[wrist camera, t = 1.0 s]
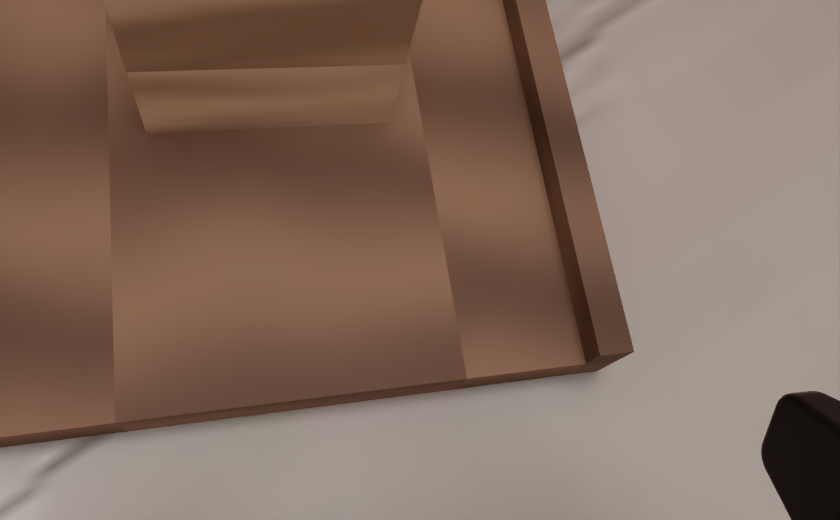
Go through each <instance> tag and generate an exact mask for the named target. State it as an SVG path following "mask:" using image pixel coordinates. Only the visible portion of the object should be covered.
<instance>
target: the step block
mask: <svg viewBox="0 0 840 520" xmlns="http://www.w3.org/2000/svg"><path fill="white" fill-rule="evenodd" d="M103 1H104V4H105V7H106V10H107V13H108V16H109V20H110V23H111V26H112V29H113V32H114V35H115V38H116V41H117V44H118V47H119V51H120V54H121V57H122V60H123V63H124V66H125V69H126V72H127V75H128V78H129V82H130V85H131V88H132V91H133V94H134V97H135V100H136V103H137V106H138V110H139V113H140V116H141V119H142V122H143V125H144V128H145V131H146V134H148V133H170V132H192V131H214V130H236V129H258V128H280V127H302V126H323V125H345V124H367V123H389V122H390V119H391V115H392V111H393V108H394V104H395V100H396V97H397V93H398V89H399V86H400V82H401V78H402V75H403V71H404V67H405V63H406V60H407V56H408V52H409V49H410V45H411V41H412V38H413V34H414V30H415V27H416V23H417V19H418V16H419V12H420V8H421V5H422V1H423V0H103Z"/></svg>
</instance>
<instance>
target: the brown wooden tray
mask: <svg viewBox="0 0 840 520" xmlns="http://www.w3.org/2000/svg"><path fill="white" fill-rule="evenodd" d="M632 352H634V350H633V346H632V342H631V338H630V334H629V330H628V326H627V322H626V318H625V314H624V310H623V306H622V302H621V298H620V294H619V290H618V286H617V282H616V278H615V274H614V270H613V266H612V262H611V258H610V255H609V251H608V247H607V243H606V239H605V235H604V231H603V227H602V223H601V219H600V215H599V211H598V207H597V203H596V199H595V195H594V191H593V187H592V183H591V179H590V175H589V171H588V167H587V163H586V159H585V156H584V152H583V148H582V144H581V140H580V136H579V132H578V128H577V124H576V120H575V116H574V112H573V108H572V104H571V100H570V96H569V92H568V88H567V84H566V80H565V76H564V72H563V68H562V64H561V61H560V57H559V53H558V49H557V45H556V41H555V37H554V33H553V29H552V25H551V21H550V17H549V13H548V9H547V5H546V1H545V0H423V1H422V5H421V8H420V12H419V16H418V19H417V23H416V27H415V30H414V34H413V38H412V41H411V45H410V49H409V52H408V56H407V60H406V63H405V67H404V71H403V75H402V78H401V82H400V86H399V89H398V93H397V97H396V100H395V104H394V108H393V111H392V115H391V119H390V122H389V123H367V124H345V125H323V126H302V127H280V128H258V129H236V130H214V131H192V132H170V133H148V134H146V131H145V128H144V125H143V122H142V119H141V116H140V113H139V110H138V106H137V103H136V100H135V97H134V94H133V91H132V88H131V85H130V82H129V78H128V75H127V72H126V69H125V66H124V63H123V60H122V57H121V54H120V51H119V47H118V44H117V41H116V38H115V35H114V32H113V29H112V26H111V23H110V20H109V16H108V13H107V10H106V7H105V4H104V1H103V0H0V447H6V446H14V445H21V444H29V443H37V442H45V441H53V440H60V439H68V438H76V437H84V436H92V435H99V434H107V433H115V432H123V431H131V430H138V429H146V428H154V427H162V426H170V425H177V424H185V423H193V422H201V421H209V420H216V419H224V418H232V417H240V416H248V415H255V414H263V413H271V412H279V411H287V410H294V409H302V408H310V407H318V406H326V405H333V404H341V403H349V402H357V401H365V400H372V399H380V398H388V397H396V396H404V395H411V394H419V393H427V392H435V391H443V390H450V389H458V388H466V387H474V386H482V385H489V384H497V383H505V382H513V381H521V380H528V379H536V378H544V377H552V376H560V375H567V374H575V373H583V372H591V371H598V370H600V369H602V368H604V367H605V366H607V365H609V364H611V363H613V362H615V361H617V360H619V359H621V358H623V357H625V356H627V355H628V354H630V353H632Z"/></svg>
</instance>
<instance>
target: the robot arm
mask: <svg viewBox="0 0 840 520" xmlns="http://www.w3.org/2000/svg"><path fill="white" fill-rule="evenodd" d="M761 454H762V460H763V464H764V467H765V469H766V471H767V473H768V475H769V477H770V479H771V481H772V483H773V485H774V487H775V489H776V491H777V493H778V494H779V496H780V498H781V500H782V502H783V504H784V506H785V508H786V510H787V512H788V514H789V516H790V518H791V520H840V401H839V400H837V399H834V398H832V397H830V396H828V395H826V394H824V393H821V392H817V391H808V392H799V393H790V394H786V395H784V396H783V397H782V398H781V399H780V400H779V401H778V403H777V405H776V408H775V410H774V413H773V416H772V419H771V421H770V424H769V427H768V430H767V432H766V435H765V438H764V441H763V444H762V450H761Z"/></svg>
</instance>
